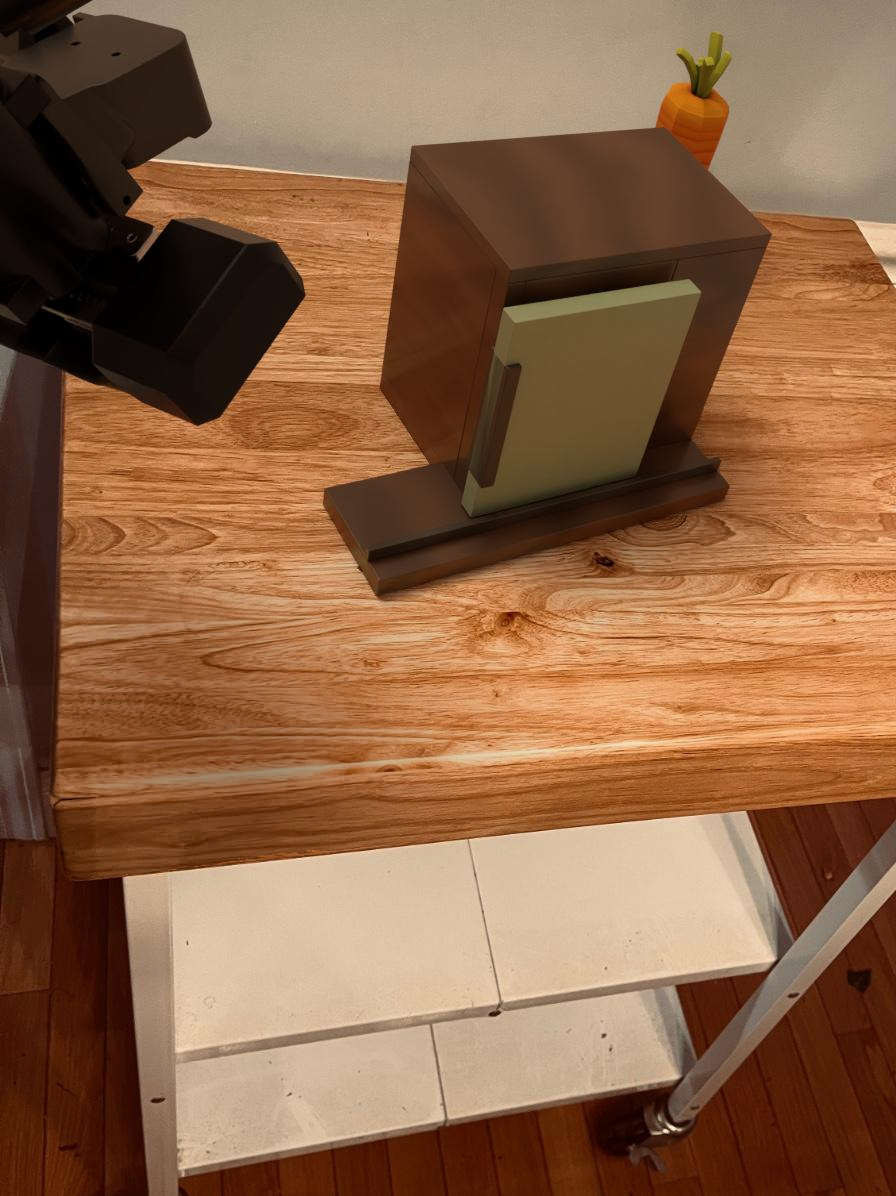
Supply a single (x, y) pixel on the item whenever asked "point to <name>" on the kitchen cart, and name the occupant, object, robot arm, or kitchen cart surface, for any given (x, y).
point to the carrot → (698, 103)
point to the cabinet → (529, 275)
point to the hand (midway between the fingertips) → (183, 397)
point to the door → (574, 393)
